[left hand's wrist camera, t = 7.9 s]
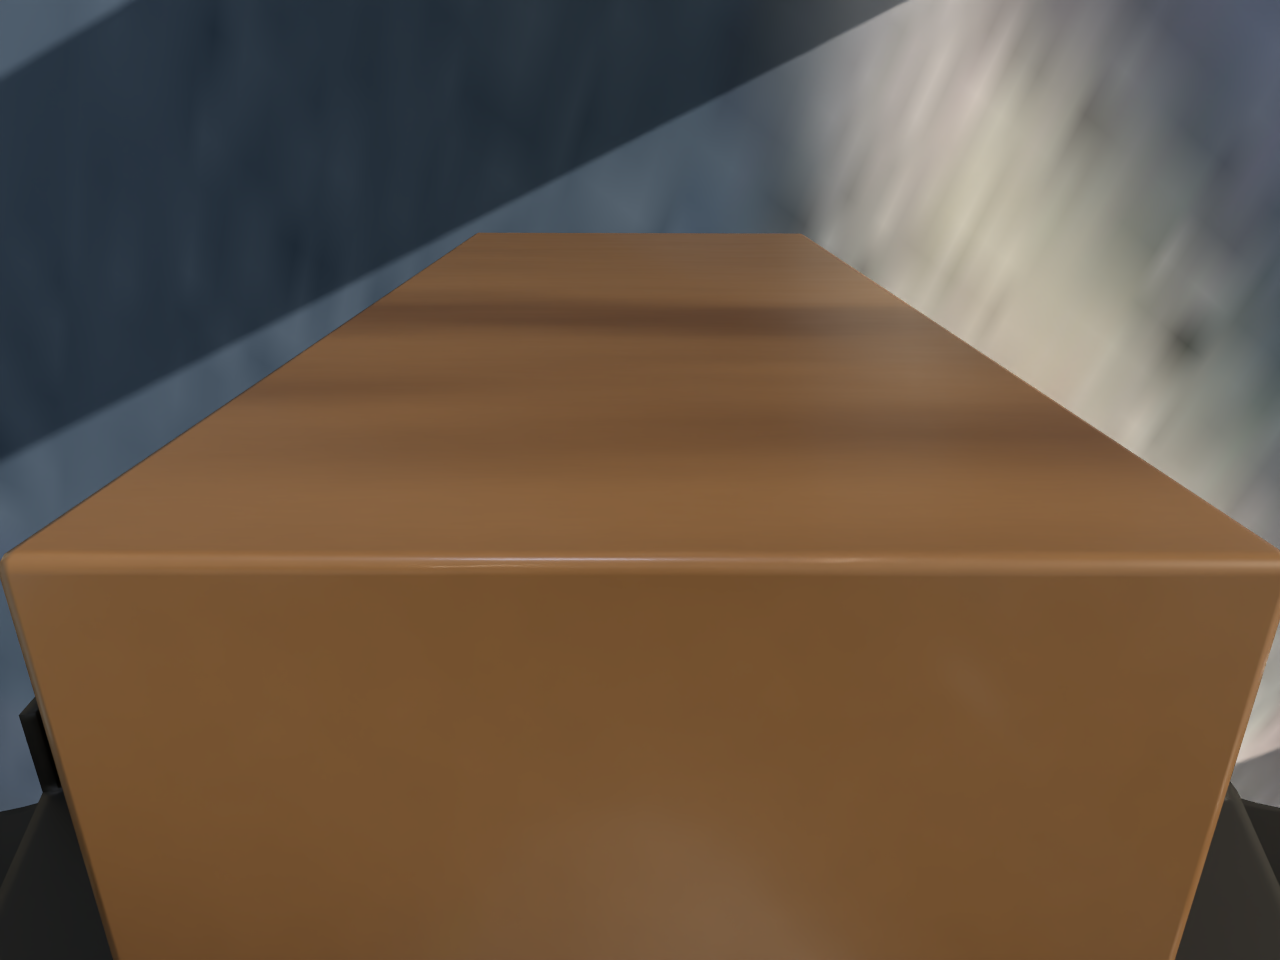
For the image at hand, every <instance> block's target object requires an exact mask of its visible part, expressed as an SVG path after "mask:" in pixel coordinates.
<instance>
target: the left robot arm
mask: <svg viewBox="0 0 1280 960" xmlns="http://www.w3.org/2000/svg"><path fill="white" fill-rule="evenodd" d="M19 717H20V721H21V724H22V727H23V730H24V733H25V737H26V740H27V743H28V746H29V749H30V753H31V756H32V759H33V762H34V766H35V769H36V772H37V775H38V778H39V782H40V785H41V788H42V791H43V793H42V796H41V798H40V800H39V802H38V803H36V804H33V805H29V806H25V807H21V808H16V809H12V810H7V811H2V812H0V960H113V958H112V954H111V951H110V947H109V944H108V941H107V937H106V934H105V931H104V927H103V924H102V920H101V917H100V914H99V910H98V907H97V904H96V900H95V897H94V893H93V890H92V887H91V883H90V880H89V876H88V873H87V870H86V866H85V863H84V860H83V856H82V853H81V849H80V846H79V843H78V839H77V836H76V833H75V829H74V826H73V822H72V819H71V816H70V812H69V809H68V805H67V802H66V799H65V795H64V792H63V789H62V785H61V782H60V778H59V775H58V772H57V768H56V765H55V761H54V758H53V755H52V751H51V748H50V745H49V741H48V738H47V734H46V731H45V728H44V724H43V721H42V718H41V714H40V711H39V707H38V704H37V701H36V697H35V698H34V699H33V700H32V701H31V702H30V703H29V704H28V705H27V707H26V708H25V709H24V710H23V711H22V712H21V713H20V715H19ZM1175 960H1280V808H1278V807H1273V806H1268V805H1263V804H1258V803H1255V802H1251V801H1247V800H1244V799H1241V798H1240V796H1239V794H1238V792H1237V790H1236V789H1235V788H1234V786H1233V785H1232V783H1231V782H1229V786H1228V789H1227V792H1226V795H1225V798H1224V802H1223V805H1222V808H1221V811H1220V815H1219V818H1218V821H1217V824H1216V828H1215V831H1214V834H1213V837H1212V841H1211V844H1210V847H1209V850H1208V854H1207V857H1206V860H1205V863H1204V867H1203V870H1202V873H1201V876H1200V880H1199V883H1198V886H1197V889H1196V892H1195V896H1194V899H1193V902H1192V905H1191V909H1190V912H1189V915H1188V918H1187V922H1186V925H1185V928H1184V931H1183V935H1182V938H1181V941H1180V944H1179V948H1178V951H1177V954H1176V957H1175Z"/></svg>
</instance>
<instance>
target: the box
mask: <svg viewBox="0 0 1280 960" xmlns="http://www.w3.org/2000/svg"><path fill="white" fill-rule="evenodd" d="M0 579H1V582H2V586H3V589H4V592H5V596H6V599H7V603H8V606H9V609H10V613H11V616H12V619H13V623H14V626H15V630H16V633H17V636H18V640H19V643H20V647H21V650H22V653H23V657H24V660H25V663H26V667H27V670H28V674H29V677H30V680H31V684H32V687H33V690H34V694H35V697H36V701H37V704H38V707H39V711H40V714H41V718H42V721H43V724H44V728H45V731H46V734H47V738H48V741H49V745H50V748H51V751H52V755H53V758H54V761H55V765H56V768H57V772H58V775H59V778H60V782H61V785H62V789H63V792H64V795H65V799H66V802H67V805H68V809H69V812H70V816H71V819H72V822H73V826H74V829H75V833H76V836H77V839H78V843H79V846H80V849H81V853H82V856H83V860H84V863H85V866H86V870H87V873H88V876H89V880H90V883H91V887H92V890H93V893H94V897H95V900H96V904H97V907H98V910H99V914H100V917H101V920H102V924H103V927H104V931H105V934H106V937H107V941H108V944H109V947H110V951H111V954H112V958H113V960H1175V957H1176V954H1177V951H1178V948H1179V944H1180V941H1181V938H1182V935H1183V931H1184V928H1185V925H1186V922H1187V918H1188V915H1189V912H1190V909H1191V905H1192V902H1193V899H1194V896H1195V892H1196V889H1197V886H1198V883H1199V880H1200V876H1201V873H1202V870H1203V867H1204V863H1205V860H1206V857H1207V854H1208V850H1209V847H1210V844H1211V841H1212V837H1213V834H1214V831H1215V828H1216V824H1217V821H1218V818H1219V815H1220V811H1221V808H1222V805H1223V802H1224V798H1225V795H1226V792H1227V789H1228V786H1229V782H1230V779H1231V776H1232V773H1233V769H1234V766H1235V763H1236V760H1237V756H1238V753H1239V750H1240V747H1241V743H1242V740H1243V737H1244V734H1245V730H1246V727H1247V724H1248V721H1249V717H1250V714H1251V711H1252V708H1253V704H1254V701H1255V698H1256V695H1257V692H1258V688H1259V685H1260V682H1261V679H1262V675H1263V672H1264V669H1265V666H1266V662H1267V659H1268V656H1269V653H1270V649H1271V646H1272V643H1273V640H1274V636H1275V633H1276V630H1277V627H1278V623H1279V620H1280V550H1279V549H1277V548H1276V547H1274V546H1273V545H1271V544H1270V543H1268V542H1267V541H1265V540H1263V539H1262V538H1260V537H1259V536H1257V535H1256V534H1254V533H1253V532H1251V531H1250V530H1248V529H1247V528H1245V527H1244V526H1242V525H1241V524H1239V523H1238V522H1236V521H1235V520H1233V519H1232V518H1230V517H1229V516H1227V515H1226V514H1224V513H1223V512H1221V511H1220V510H1218V509H1217V508H1215V507H1214V506H1212V505H1211V504H1209V503H1208V502H1206V501H1205V500H1203V499H1202V498H1200V497H1199V496H1197V495H1196V494H1194V493H1192V492H1191V491H1189V490H1188V489H1186V488H1185V487H1183V486H1182V485H1180V484H1179V483H1177V482H1176V481H1174V480H1173V479H1171V478H1170V477H1168V476H1167V475H1165V474H1164V473H1162V472H1161V471H1159V470H1158V469H1156V468H1155V467H1153V466H1152V465H1150V464H1149V463H1147V462H1146V461H1144V460H1143V459H1141V458H1140V457H1138V456H1137V455H1135V454H1134V453H1132V452H1131V451H1129V450H1128V449H1126V448H1124V447H1123V446H1121V445H1120V444H1118V443H1117V442H1115V441H1114V440H1112V439H1111V438H1109V437H1108V436H1106V435H1105V434H1103V433H1102V432H1100V431H1099V430H1097V429H1096V428H1094V427H1093V426H1091V425H1090V424H1088V423H1087V422H1085V421H1084V420H1082V419H1081V418H1079V417H1078V416H1076V415H1075V414H1073V413H1072V412H1070V411H1069V410H1067V409H1066V408H1064V407H1063V406H1061V405H1060V404H1058V403H1056V402H1055V401H1053V400H1052V399H1050V398H1049V397H1047V396H1046V395H1044V394H1043V393H1041V392H1040V391H1038V390H1037V389H1035V388H1034V387H1032V386H1031V385H1029V384H1028V383H1026V382H1025V381H1023V380H1022V379H1020V378H1019V377H1017V376H1016V375H1014V374H1013V373H1011V372H1010V371H1008V370H1007V369H1005V368H1004V367H1002V366H1001V365H999V364H998V363H996V362H995V361H993V360H992V359H990V358H988V357H987V356H985V355H984V354H982V353H981V352H979V351H978V350H976V349H975V348H973V347H972V346H970V345H969V344H967V343H966V342H964V341H963V340H961V339H960V338H958V337H957V336H955V335H954V334H952V333H951V332H949V331H948V330H946V329H945V328H943V327H942V326H940V325H939V324H937V323H936V322H934V321H933V320H931V319H930V318H928V317H927V316H925V315H924V314H922V313H920V312H919V311H917V310H916V309H914V308H913V307H911V306H910V305H908V304H907V303H905V302H904V301H902V300H901V299H899V298H898V297H896V296H895V295H893V294H892V293H890V292H889V291H887V290H886V289H884V288H883V287H881V286H880V285H878V284H877V283H875V282H874V281H872V280H871V279H869V278H868V277H866V276H865V275H863V274H862V273H860V272H859V271H857V270H856V269H854V268H853V267H851V266H849V265H848V264H846V263H845V262H843V261H842V260H840V259H839V258H837V257H836V256H834V255H833V254H831V253H830V252H828V251H827V250H825V249H824V248H822V247H821V246H819V245H818V244H816V243H815V242H813V241H812V240H810V239H809V238H807V237H806V236H804V235H802V234H701V233H477V234H475V235H474V236H472V237H471V238H469V239H468V240H466V241H465V242H463V243H462V244H460V245H459V246H457V247H456V248H454V249H453V250H452V251H450V252H449V253H447V254H446V255H444V256H443V257H441V258H440V259H438V260H437V261H435V262H434V263H432V264H431V265H429V266H428V267H426V268H425V269H424V270H422V271H421V272H419V273H418V274H416V275H415V276H413V277H412V278H410V279H409V280H407V281H406V282H404V283H403V284H401V285H400V286H398V287H397V288H396V289H394V290H393V291H391V292H390V293H388V294H387V295H385V296H384V297H382V298H381V299H379V300H378V301H376V302H375V303H373V304H372V305H371V306H369V307H368V308H366V309H365V310H363V311H362V312H360V313H359V314H357V315H356V316H354V317H353V318H351V319H350V320H348V321H347V322H345V323H344V324H343V325H341V326H340V327H338V328H337V329H335V330H334V331H332V332H331V333H329V334H328V335H326V336H325V337H323V338H322V339H320V340H319V341H317V342H316V343H315V344H313V345H312V346H310V347H309V348H307V349H306V350H304V351H303V352H301V353H300V354H298V355H297V356H295V357H294V358H292V359H291V360H290V361H288V362H287V363H285V364H284V365H282V366H281V367H279V368H278V369H276V370H275V371H273V372H272V373H270V374H269V375H267V376H266V377H264V378H263V379H262V380H260V381H259V382H257V383H256V384H254V385H253V386H251V387H250V388H248V389H247V390H245V391H244V392H242V393H241V394H239V395H238V396H237V397H235V398H234V399H232V400H231V401H229V402H228V403H226V404H225V405H223V406H222V407H220V408H219V409H217V410H216V411H214V412H213V413H211V414H210V415H209V416H207V417H206V418H204V419H203V420H201V421H200V422H198V423H197V424H195V425H194V426H192V427H191V428H189V429H188V430H186V431H185V432H183V433H182V434H181V435H179V436H178V437H176V438H175V439H173V440H172V441H170V442H169V443H167V444H166V445H164V446H163V447H161V448H160V449H158V450H157V451H156V452H154V453H153V454H151V455H150V456H148V457H147V458H145V459H144V460H142V461H141V462H139V463H138V464H136V465H135V466H133V467H132V468H130V469H129V470H128V471H126V472H125V473H123V474H122V475H120V476H119V477H117V478H116V479H114V480H113V481H111V482H110V483H108V484H107V485H105V486H104V487H102V488H101V489H100V490H98V491H97V492H95V493H94V494H92V495H91V496H89V497H88V498H86V499H85V500H83V501H82V502H80V503H79V504H77V505H76V506H75V507H73V508H72V509H70V510H69V511H67V512H66V513H64V514H63V515H61V516H60V517H58V518H57V519H55V520H54V521H52V522H51V523H49V524H48V525H47V526H45V527H44V528H42V529H41V530H39V531H38V532H36V533H35V534H33V535H32V536H30V537H29V538H27V539H26V540H24V541H23V542H22V543H20V544H19V545H17V546H16V547H14V548H13V549H11V550H10V551H8V552H7V553H5V554H4V556H3V557H2V559H1V561H0Z"/></svg>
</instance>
